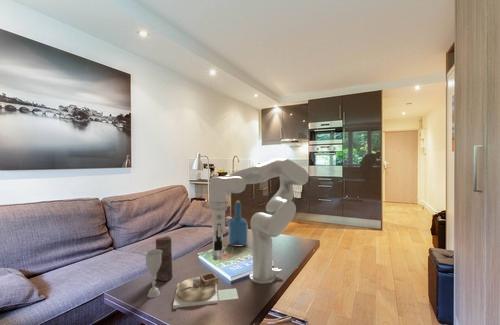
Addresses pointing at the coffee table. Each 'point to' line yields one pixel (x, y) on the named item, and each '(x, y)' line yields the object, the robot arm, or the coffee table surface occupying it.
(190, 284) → the dial
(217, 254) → the small glass bottle
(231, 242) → the wine bottle
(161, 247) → the candle
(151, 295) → the chalice
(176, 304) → the dial base
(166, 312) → the coffee table surface
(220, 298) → the pad
